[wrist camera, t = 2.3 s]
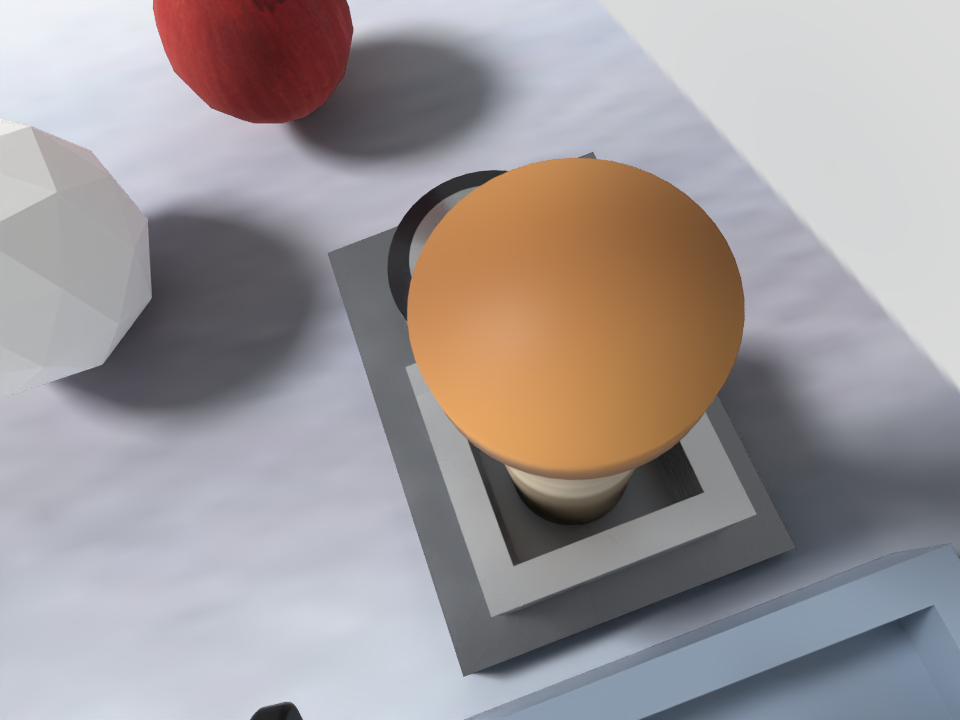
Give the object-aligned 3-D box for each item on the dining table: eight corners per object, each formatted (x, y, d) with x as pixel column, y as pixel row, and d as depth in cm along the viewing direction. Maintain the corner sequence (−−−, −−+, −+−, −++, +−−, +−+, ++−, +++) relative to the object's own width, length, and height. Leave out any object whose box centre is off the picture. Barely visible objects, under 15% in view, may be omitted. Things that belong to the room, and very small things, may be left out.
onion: (347, 18, 27) (262, -211, 19) (399, 132, 25) (325, -75, 17) (205, 77, 27) (64, -131, 19) (245, 196, 25) (104, 15, 17)
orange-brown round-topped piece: (675, 510, 18) (808, 388, 8) (525, 568, 18) (470, 518, 8) (610, 369, 20) (655, 115, 10) (471, 423, 20) (367, 224, 10)
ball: (117, 293, 27) (25, 74, 23) (233, 351, 23) (145, 91, 18) (-110, 390, 23) (-280, 138, 18) (-23, 489, 18) (-222, 183, 14)
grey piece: (784, 550, 19) (847, 534, 15) (469, 673, 19) (440, 692, 14) (591, 170, 23) (597, 73, 19) (337, 267, 23) (286, 192, 19)
